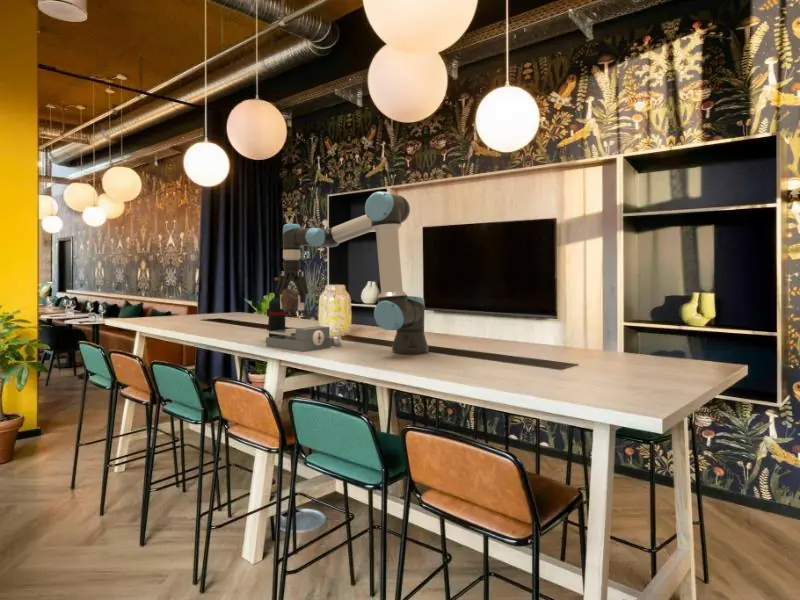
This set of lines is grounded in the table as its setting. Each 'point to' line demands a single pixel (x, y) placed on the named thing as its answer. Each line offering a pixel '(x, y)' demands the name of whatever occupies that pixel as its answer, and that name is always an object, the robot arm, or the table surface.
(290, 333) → the pan
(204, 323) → the table surface
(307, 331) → the scale base
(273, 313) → the wine bottle
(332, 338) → the spacer
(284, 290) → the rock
